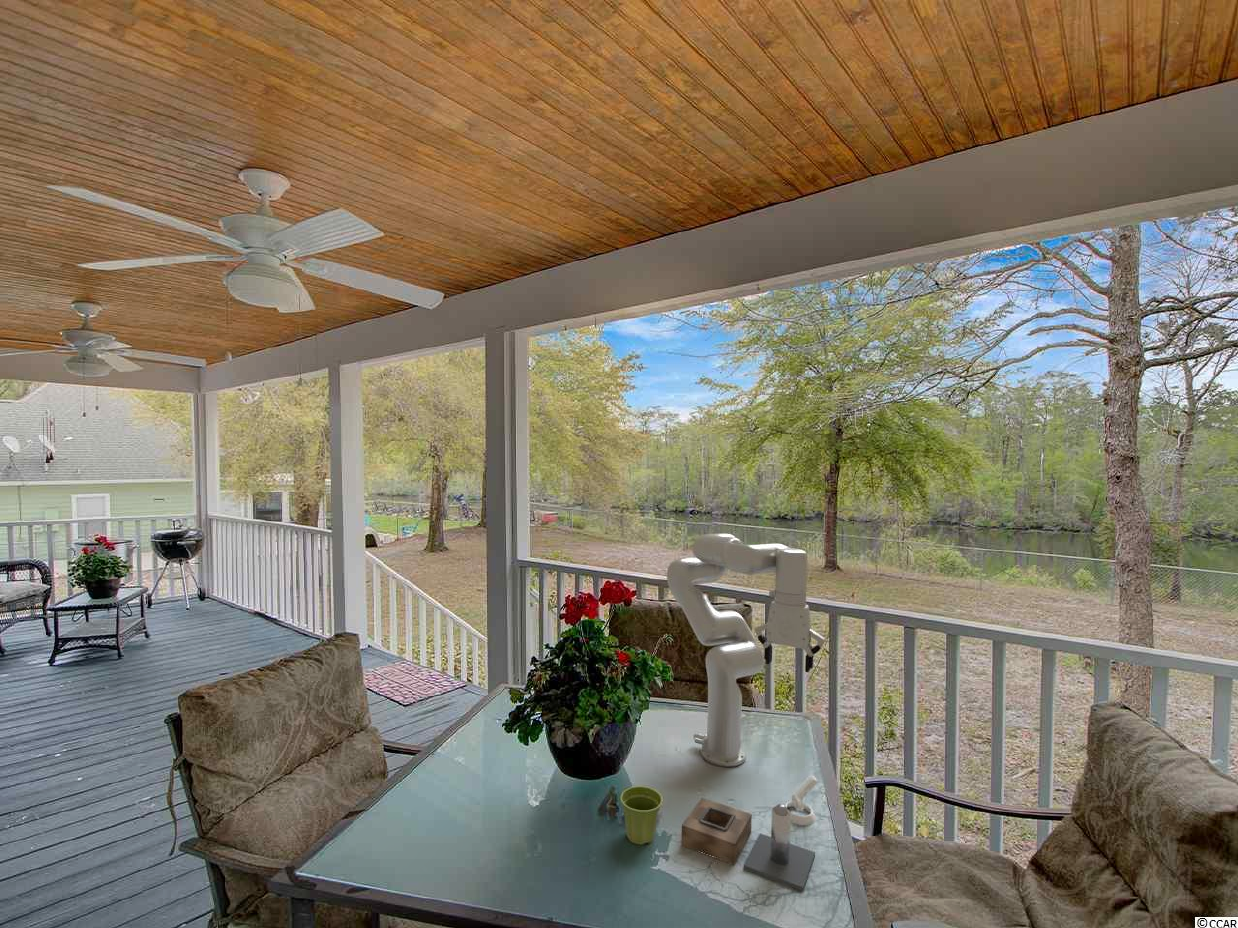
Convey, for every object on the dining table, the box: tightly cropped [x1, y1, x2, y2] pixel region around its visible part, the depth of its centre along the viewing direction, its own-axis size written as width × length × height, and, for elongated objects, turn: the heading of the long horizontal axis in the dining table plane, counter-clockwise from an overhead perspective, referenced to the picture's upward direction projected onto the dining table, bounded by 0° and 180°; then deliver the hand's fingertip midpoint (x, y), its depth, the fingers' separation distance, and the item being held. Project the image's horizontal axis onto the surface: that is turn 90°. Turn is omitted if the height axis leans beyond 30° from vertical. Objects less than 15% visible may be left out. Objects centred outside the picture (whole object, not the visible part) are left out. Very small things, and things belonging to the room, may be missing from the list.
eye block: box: [680, 797, 753, 866], centre depth 131 cm, size 12×12×5 cm
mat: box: [743, 833, 816, 892], centre depth 124 cm, size 12×12×1 cm
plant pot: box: [620, 785, 663, 846], centre depth 131 cm, size 9×9×9 cm
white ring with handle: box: [784, 774, 818, 826], centre depth 140 cm, size 8×12×7 cm
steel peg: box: [770, 803, 792, 865], centre depth 124 cm, size 4×4×11 cm
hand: (788, 666), depth 147 cm, fingers open, 9 cm apart
